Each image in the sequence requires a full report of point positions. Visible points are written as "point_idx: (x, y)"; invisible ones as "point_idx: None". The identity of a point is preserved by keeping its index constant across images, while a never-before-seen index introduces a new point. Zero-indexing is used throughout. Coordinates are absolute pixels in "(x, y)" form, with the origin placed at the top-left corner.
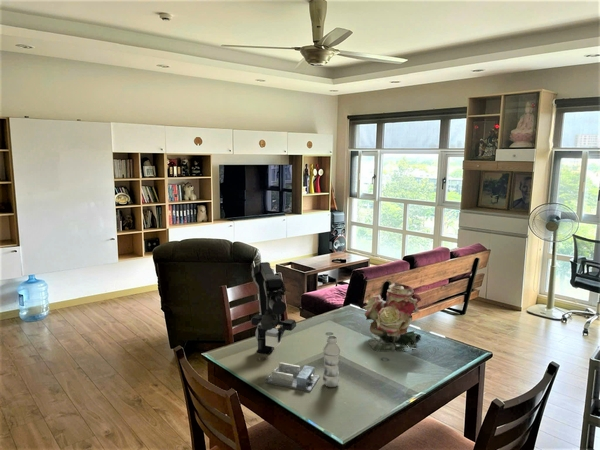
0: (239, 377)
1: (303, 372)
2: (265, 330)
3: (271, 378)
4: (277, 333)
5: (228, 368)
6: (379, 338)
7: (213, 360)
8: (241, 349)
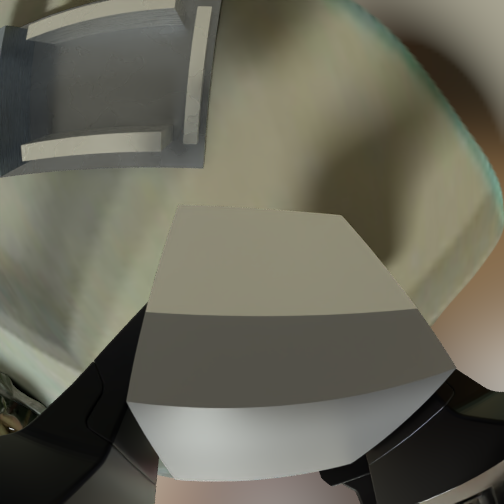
0: (389, 32)
1: None
2: (447, 402)
3: (191, 22)
4: (144, 419)
5: (454, 121)
6: (39, 413)
7: (497, 184)
8: (419, 294)
